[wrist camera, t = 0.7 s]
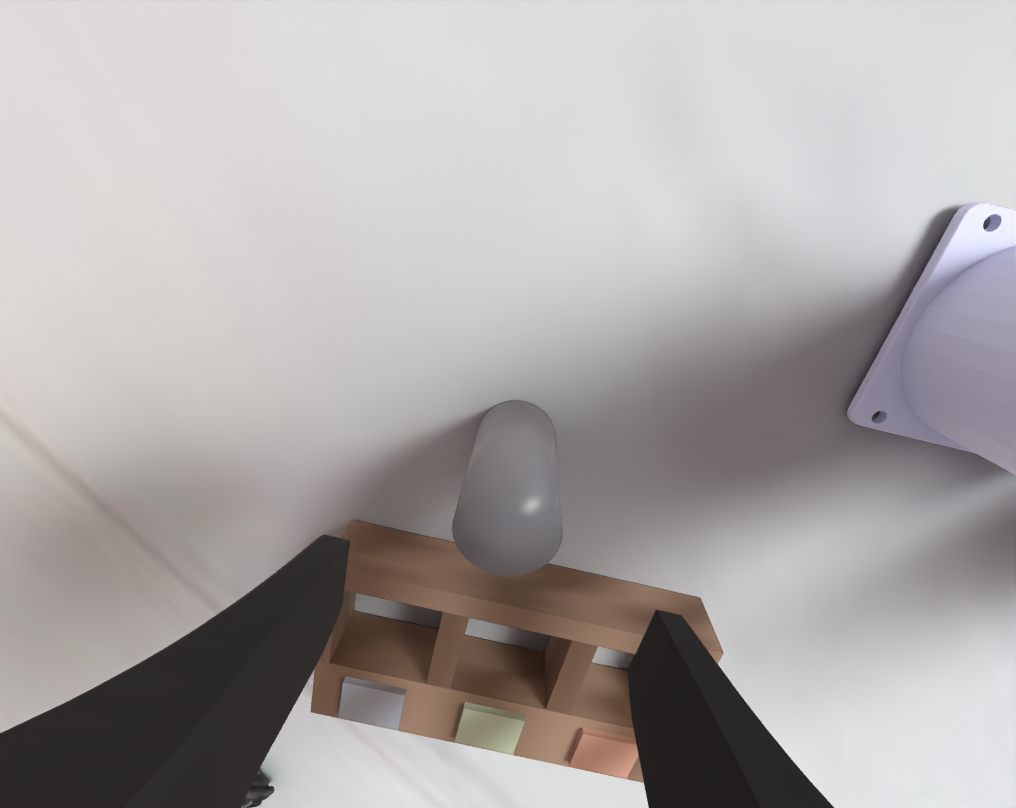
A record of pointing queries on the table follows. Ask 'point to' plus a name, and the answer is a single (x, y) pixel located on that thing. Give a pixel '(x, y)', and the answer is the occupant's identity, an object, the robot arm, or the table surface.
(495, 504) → the peg
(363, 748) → the table surface
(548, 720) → the socket block
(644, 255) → the table surface
